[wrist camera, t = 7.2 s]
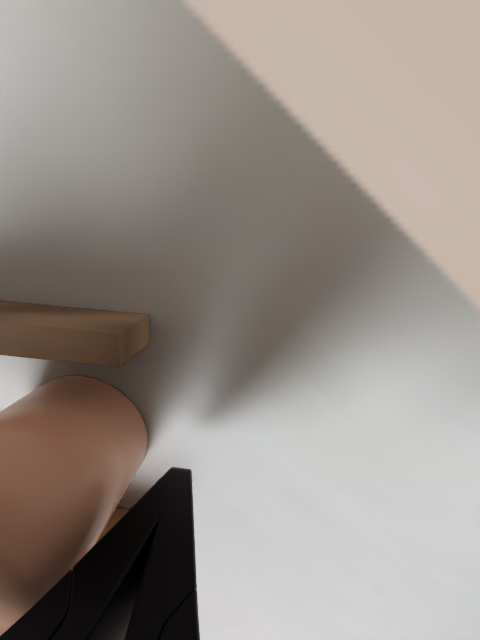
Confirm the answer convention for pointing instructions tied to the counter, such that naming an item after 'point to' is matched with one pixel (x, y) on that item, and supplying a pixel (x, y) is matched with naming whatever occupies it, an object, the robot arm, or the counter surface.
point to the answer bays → (73, 340)
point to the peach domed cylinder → (60, 481)
